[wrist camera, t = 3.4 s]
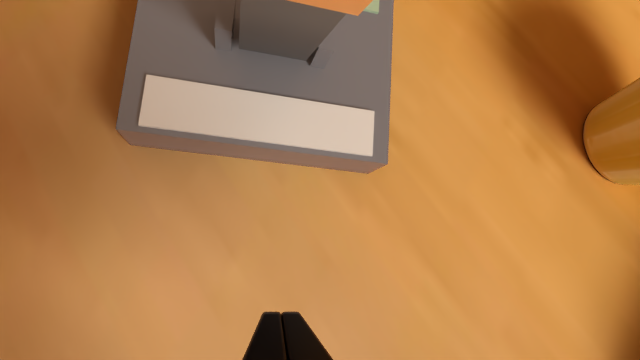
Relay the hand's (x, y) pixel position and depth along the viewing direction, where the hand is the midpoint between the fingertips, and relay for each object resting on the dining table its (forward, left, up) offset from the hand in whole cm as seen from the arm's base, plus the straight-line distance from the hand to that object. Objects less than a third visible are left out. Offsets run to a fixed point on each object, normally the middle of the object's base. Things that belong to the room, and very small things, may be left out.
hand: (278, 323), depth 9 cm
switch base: (+10, +8, -13) cm, 18 cm away
